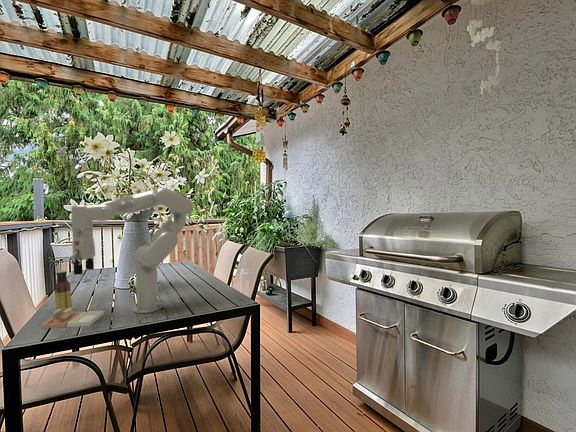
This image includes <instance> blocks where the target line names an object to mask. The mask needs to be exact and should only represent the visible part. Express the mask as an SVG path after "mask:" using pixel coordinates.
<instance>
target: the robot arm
mask: <svg viewBox="0 0 576 432" xmlns="http://www.w3.org/2000/svg"><path fill="white" fill-rule="evenodd" d="M159 206H164V207H166V208H168V209H169V211H170V212H169V213H170V214H169V215H170V216H169V218H168V219H167V221H166V222H164V224H163V225H162V226H161V227H160V228H159V229H158V230H157V231H156V232H154V233H153V235H152V237H151V240H152V241H151V242H152V243H151V244H150V245H149V244H148V245H147V244H145V245H144V244H143V245H141V246H139V247H138V248H137V249H136V250H135V253H134V264H135V265H134V266H135V276H136V277H135V279H136V280H135V282H136V285H135V286H136V287H135V288H136V290H135V293H136V306H134V307H133V310H132V311H133V313H134V314H135V313H136V314H148V313H154V312H157V311H159V310H160V309H161V308H162V306H167V304H168V303H167V300H160V297H158V296H159V295H158V266H159V265H161V263H162V262H164V260H165V259H166V258H167V257H168V256H169V255H170V254H171V253H172V252H173V250H174V249H175V248H176V247H177V245H178V242H179V238H178V235H179V234H180V232H181V231H182V230H183V228H184V227H185V226H186V223H187V215H189V214H191V213H192V212H193V209H194V204H193V202H192V200H190V199H189V198H187V197H185V196H184V195H181V194H179V193H178V192H175V191H174V190H172V189H170V188H167V187H157V188H153V189H148V190H145V191H141V192H137V193H132V194H129V195H126V196H123V197H120V198H117V199H113V200H109V201H106V202H101V203H98V204H97V203H96V204H95V205H93V204H92V205H89V204H74V205H72V206H71V227H72V228H71V230H72V233H71V234H72V239H73V240H72V255H70V258H71V262H72V263H71V264H72V265H73V275H76V276H77V275H83V264H82V262H83V260H84V261H85V270H86V271H87V270H91V271H92V270H94V269H95V266H94V263H95V258H94V257H96V247H95V246H96V245H95V239H94V230H93V224H94V222H93V221H97V222H98V221H99V222H105V221H108V220H110V219H111V218H112V217H117V216H120V215H124V214H132V213H138V212H141V211H145V210H149V209H153V208H155V207H159Z"/></svg>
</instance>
